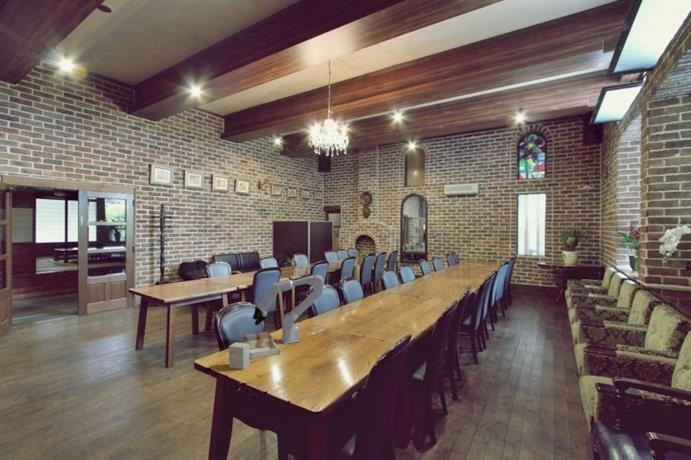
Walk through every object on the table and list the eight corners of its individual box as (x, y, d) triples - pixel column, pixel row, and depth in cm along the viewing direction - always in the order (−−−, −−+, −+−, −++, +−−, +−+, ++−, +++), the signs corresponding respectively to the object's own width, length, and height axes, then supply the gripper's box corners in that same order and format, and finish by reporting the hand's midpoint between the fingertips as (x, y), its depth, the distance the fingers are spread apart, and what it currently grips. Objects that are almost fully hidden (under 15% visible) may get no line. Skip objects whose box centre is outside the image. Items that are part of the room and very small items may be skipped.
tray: (273, 346, 186) (273, 341, 186) (279, 354, 176) (279, 348, 176) (245, 351, 179) (245, 345, 179) (249, 359, 168) (249, 353, 168)
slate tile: (254, 337, 190) (254, 332, 190) (256, 339, 186) (256, 335, 186) (245, 338, 188) (245, 334, 188) (247, 341, 183) (247, 336, 183)
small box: (249, 365, 161) (250, 343, 161) (243, 369, 156) (243, 347, 156) (235, 363, 164) (235, 341, 164) (228, 367, 158) (228, 345, 158)
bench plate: (268, 340, 197) (268, 333, 197) (274, 346, 187) (274, 339, 187) (240, 344, 190) (240, 337, 190) (244, 351, 179) (244, 343, 179)
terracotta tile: (266, 335, 193) (266, 331, 193) (268, 338, 189) (268, 333, 189) (258, 336, 191) (258, 332, 191) (260, 339, 187) (260, 335, 187)
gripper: (259, 294, 199) (247, 314, 198) (263, 304, 186) (251, 325, 186) (269, 298, 202) (257, 318, 202) (274, 308, 189) (262, 329, 189)
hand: (255, 321), depth 194 cm, fingers open, 7 cm apart
